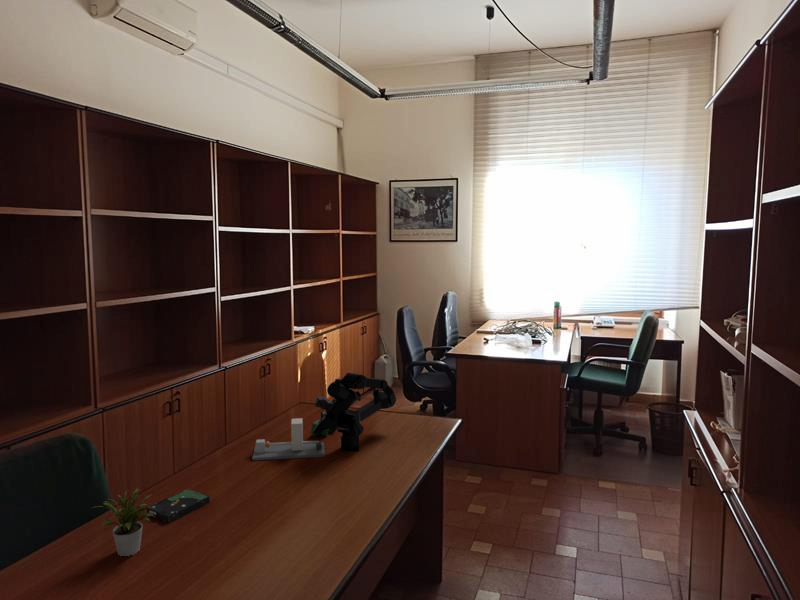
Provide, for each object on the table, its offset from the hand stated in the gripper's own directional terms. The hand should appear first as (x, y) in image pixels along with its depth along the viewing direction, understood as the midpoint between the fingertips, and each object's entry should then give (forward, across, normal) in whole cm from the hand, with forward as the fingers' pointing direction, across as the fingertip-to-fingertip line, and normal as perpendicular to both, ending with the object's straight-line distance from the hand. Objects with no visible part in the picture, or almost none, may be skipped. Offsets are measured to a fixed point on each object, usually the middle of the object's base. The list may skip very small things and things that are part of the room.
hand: (313, 432), depth 217 cm
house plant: (+39, +64, -29) cm, 80 cm away
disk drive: (+34, +40, -23) cm, 57 cm away
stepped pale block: (+8, 0, 0) cm, 8 cm away
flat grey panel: (+11, 0, -1) cm, 11 cm away
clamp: (+2, -19, +8) cm, 21 cm away
